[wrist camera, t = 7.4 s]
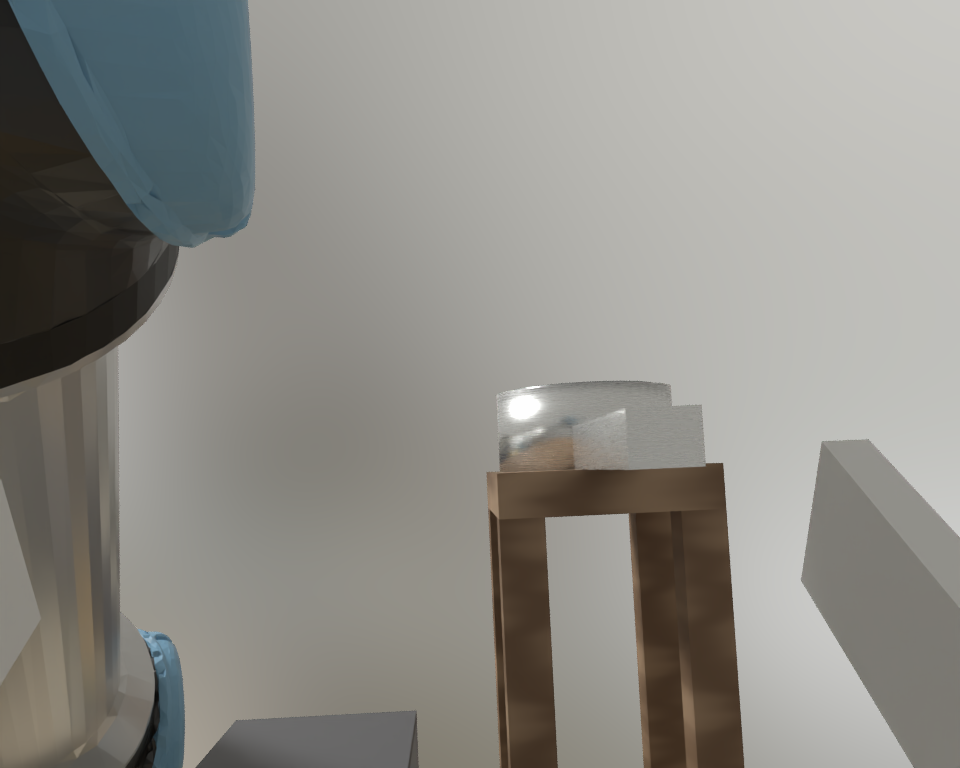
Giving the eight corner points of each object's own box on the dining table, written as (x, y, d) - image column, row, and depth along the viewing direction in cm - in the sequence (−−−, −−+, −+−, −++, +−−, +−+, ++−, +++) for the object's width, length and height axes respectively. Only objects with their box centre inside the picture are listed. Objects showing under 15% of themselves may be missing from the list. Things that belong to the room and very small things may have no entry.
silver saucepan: (528, 474, 29) (522, 346, 29) (495, 471, 51) (492, 398, 51) (804, 461, 29) (794, 335, 30) (653, 464, 51) (649, 392, 51)
